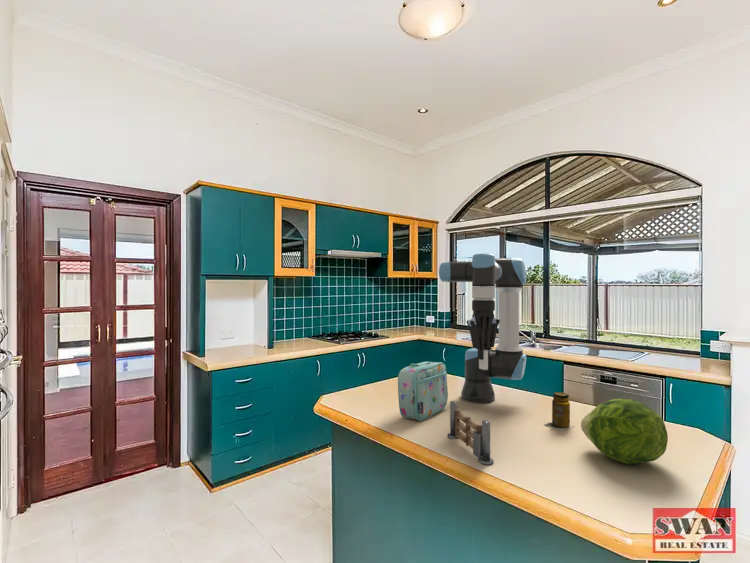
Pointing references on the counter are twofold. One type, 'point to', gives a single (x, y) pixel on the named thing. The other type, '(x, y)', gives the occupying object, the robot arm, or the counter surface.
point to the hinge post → (452, 420)
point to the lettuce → (626, 431)
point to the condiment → (560, 412)
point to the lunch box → (422, 390)
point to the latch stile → (482, 444)
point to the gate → (465, 428)
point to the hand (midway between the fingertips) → (483, 368)
